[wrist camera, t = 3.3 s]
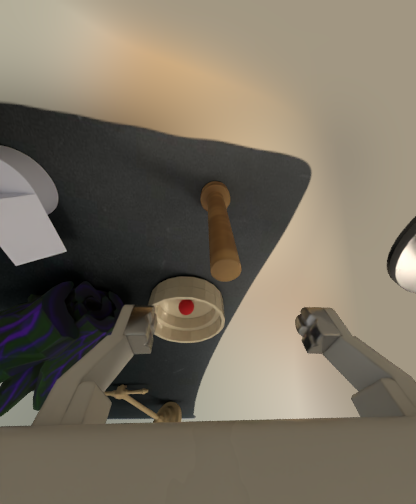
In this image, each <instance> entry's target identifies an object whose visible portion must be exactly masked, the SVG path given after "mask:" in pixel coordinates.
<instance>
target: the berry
mask: <svg viewBox="0 0 416 504" xmlns="http://www.w3.org/2000/svg"><path fill="white" fill-rule="evenodd" d="M178 308H179V311H180V313H181V314H183V315H189V314H191V313H192V312H193V310H194V304H193V302H192V301H191V300H189V299H183V300H182V301H181V302H180V303H179V306H178Z"/></svg>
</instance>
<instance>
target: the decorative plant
mask: <svg viewBox="0 0 416 504" xmlns="http://www.w3.org/2000/svg"><path fill="white" fill-rule="evenodd" d="M73 286H74V284H73V282H72V281H67V282H62V283H60V284H58V285H56V286H55V287H53V288H51V289H50V290H49V291H47V292H46V293H45V294H44V295H33V294H31V295H30V296H29V297H28V302H26V303H23V304H20V305H17V306H14V307H12V308H10V309H8V310H5V311H2V312H0V383H1V382H3V383H2V384H1V386H0V416H2V415H4V414H5V413H6V412H8V411H9V410H10V409H11V408H12V407H13V406H15V405H16V404H17V403H18V402H19V401H20V400H21V399H22V398H24V397H25V396H26V395H27V394H28V393H29V392H31V391H33V390H35V391H34V396H33V409H34V410H37V411H39V410H40V409H41V407H42V405H43V404H44V402H45V400H46V398H47V396H48V395H49V393H50V391H51V389H52V388H53V386H54V384H55V382H56V380H57V379H59V378H60V377H61V376H62V375H63V374H64V373H65V372H67V371H68V370H69V369H70V368H71V367H72V366H73V365H74V364H76V363H77V362H78V361H79V360H80V359H81V358H82V357H84V356H85V355H86V354H87V353H88V352H89V351H90V350H91V349H93V348H94V347H95V346H96V345H97V344H98V343H99V342H100V341H102V340H103V339H104V338H105V337H106V336H107V335H111V333H112V331H113V329H114V326H115V324H116V322H117V319H118V317H119V314H120V312H121V310H122V308H123V306H124V303H123V302H122V300H121V299H120V298H119V296H118V295H117V294H115V293H113V292H111V291H109V292H105V291H100V290H96V289H95V288H94V287H93V286H92V285H91V284H90V283H89V282H86V281H83V282H82V283H81V284H79V285H78V286H77V287H75V288H73Z"/></svg>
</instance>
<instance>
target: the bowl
mask: <svg viewBox="0 0 416 504" xmlns="http://www.w3.org/2000/svg"><path fill="white" fill-rule="evenodd" d="M183 299H189V300H191V301H192V302H193V304H194V310H193V312H192V313H191V314H189V315H183V314H181V313H180V311H179V308H178V306H179V303H180V302H181V301H182V300H183ZM148 305H154V306H155V314H156V315H157V325H156V331H155V333H154V334H155V335H157V336H158V337H160V338H163V339H166V340H168V341H174V342H179V343H193V342H199V341H204V340H206V339H209V338H212V337H213V336H215V335H216V334H218V333H219V332H220V331H221V330H222V328H223V327H224V322H225V315H224V306H223V298H222V295H221V292H220V291H219V290H218V289H217V288H216V287H215V286H214V285H213V284H211V283H209V282H208V281H206V280H203V279H199V278H196V277H183V276H180V277H175V278H170V279H167V280H165V281H163V282H161V283H159V284H158V285H157V286H156V287H155V288H154V289H153V290H152V293H151V296H150V300H149V303H148Z"/></svg>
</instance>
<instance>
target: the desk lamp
mask: <svg viewBox="0 0 416 504" xmlns="http://www.w3.org/2000/svg"><path fill="white" fill-rule="evenodd" d="M126 387H127V385H126V386H124V385H121V386H118V388H117V390H116V391H115V390H113V392H104V393H105V395H106V396H107V395H112V396H114V395H115V396H114V397H115V398H116V399H122V398H123V399H125V400H126V401H128V402H129V403H131V404H133V405H134V406H136V407H137V408H139V409H140V410H142V411H143V412H145V413H146V414H148V415H149V416H151V417H152V418H154V421H153V423H158V422H181V409H180V406H179V405H178V404H177V403H175V402H168V403H166V404H164V405H163V406H162V407H161V408H160V410H159V411H158V413H157V414H156V413H154V412H153V411H151V410H150V409H148V408H147V407H145V406H144V405H142V404H141V403H139V402H138V401H136V400H135V399H133V398H132V397H130V396H129V395H127V394H139V393H140V394H145V393H147V392H148V389H145V388H144V389H143V390H142V389H141V390H128V389H125V388H126Z"/></svg>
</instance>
